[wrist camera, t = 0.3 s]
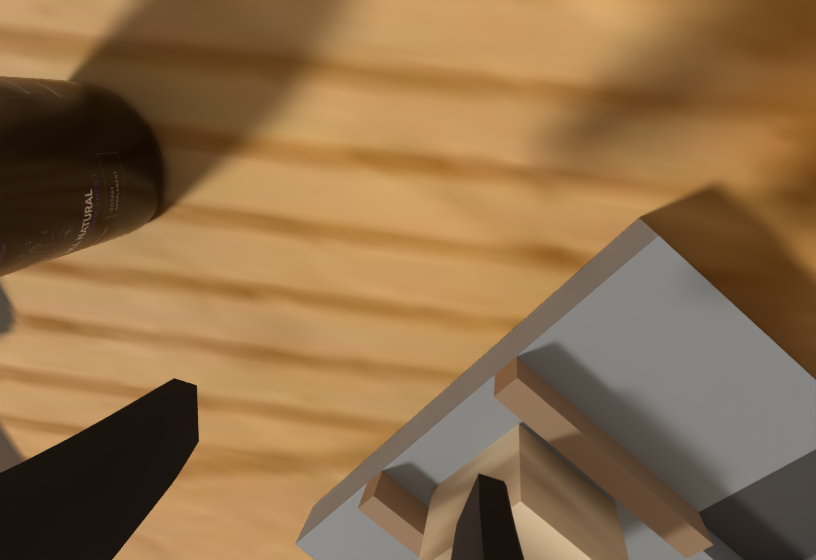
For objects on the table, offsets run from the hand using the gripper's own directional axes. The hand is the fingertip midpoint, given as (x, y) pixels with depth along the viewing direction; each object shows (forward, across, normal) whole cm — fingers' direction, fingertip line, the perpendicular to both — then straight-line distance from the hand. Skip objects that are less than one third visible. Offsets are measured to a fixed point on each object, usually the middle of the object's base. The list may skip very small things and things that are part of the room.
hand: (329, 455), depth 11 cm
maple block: (+7, -7, +7) cm, 12 cm away
